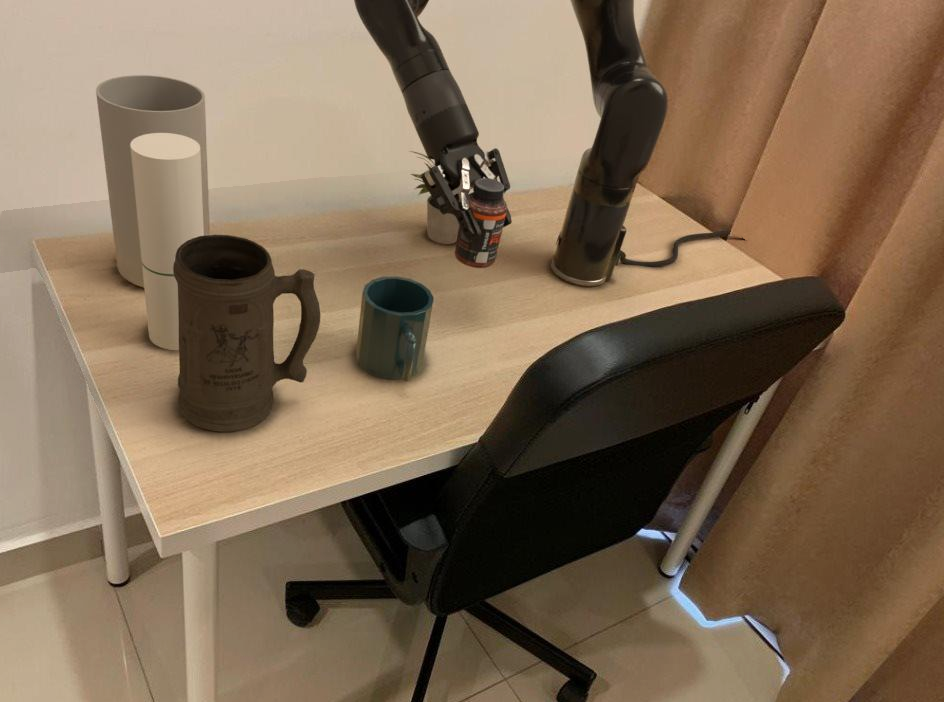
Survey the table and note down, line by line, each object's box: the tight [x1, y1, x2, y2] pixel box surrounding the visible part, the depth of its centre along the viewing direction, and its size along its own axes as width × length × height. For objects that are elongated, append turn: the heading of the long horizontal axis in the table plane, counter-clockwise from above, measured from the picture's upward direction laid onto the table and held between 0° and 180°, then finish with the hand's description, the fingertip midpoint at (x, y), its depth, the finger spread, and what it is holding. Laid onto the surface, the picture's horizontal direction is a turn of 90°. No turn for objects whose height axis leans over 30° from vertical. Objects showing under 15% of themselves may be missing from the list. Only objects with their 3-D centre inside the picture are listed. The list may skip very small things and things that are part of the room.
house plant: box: [409, 150, 473, 245], centre depth 127 cm, size 14×14×16 cm
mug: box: [355, 275, 435, 382], centre depth 97 cm, size 12×9×10 cm
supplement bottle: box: [454, 177, 508, 269], centre depth 104 cm, size 6×6×11 cm
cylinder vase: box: [95, 74, 211, 288], centre depth 102 cm, size 12×12×25 cm
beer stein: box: [173, 234, 322, 432], centre depth 85 cm, size 15×11×20 cm
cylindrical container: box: [130, 133, 204, 351], centre depth 91 cm, size 7×7×25 cm
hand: (490, 231), depth 104 cm, fingers closed on supplement bottle, 6 cm apart
